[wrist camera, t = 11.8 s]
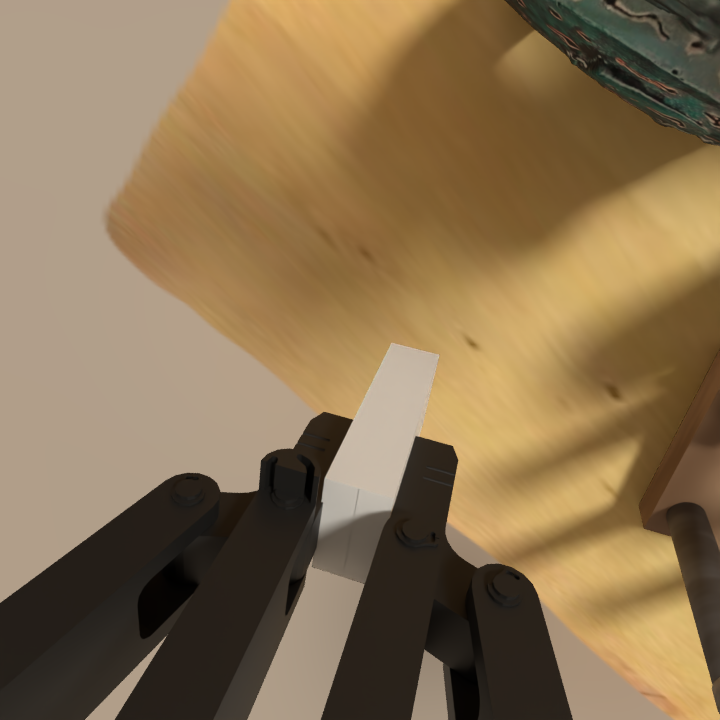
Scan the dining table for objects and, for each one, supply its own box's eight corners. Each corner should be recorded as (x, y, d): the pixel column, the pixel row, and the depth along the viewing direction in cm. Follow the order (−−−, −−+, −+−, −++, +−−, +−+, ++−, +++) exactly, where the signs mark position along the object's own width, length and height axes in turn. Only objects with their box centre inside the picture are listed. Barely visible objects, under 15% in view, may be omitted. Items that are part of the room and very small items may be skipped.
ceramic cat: (819, 71, 36) (1077, 92, 19) (740, 167, 39) (897, 259, 22) (537, -86, 36) (538, -207, 19) (482, 24, 39) (440, 5, 22)
